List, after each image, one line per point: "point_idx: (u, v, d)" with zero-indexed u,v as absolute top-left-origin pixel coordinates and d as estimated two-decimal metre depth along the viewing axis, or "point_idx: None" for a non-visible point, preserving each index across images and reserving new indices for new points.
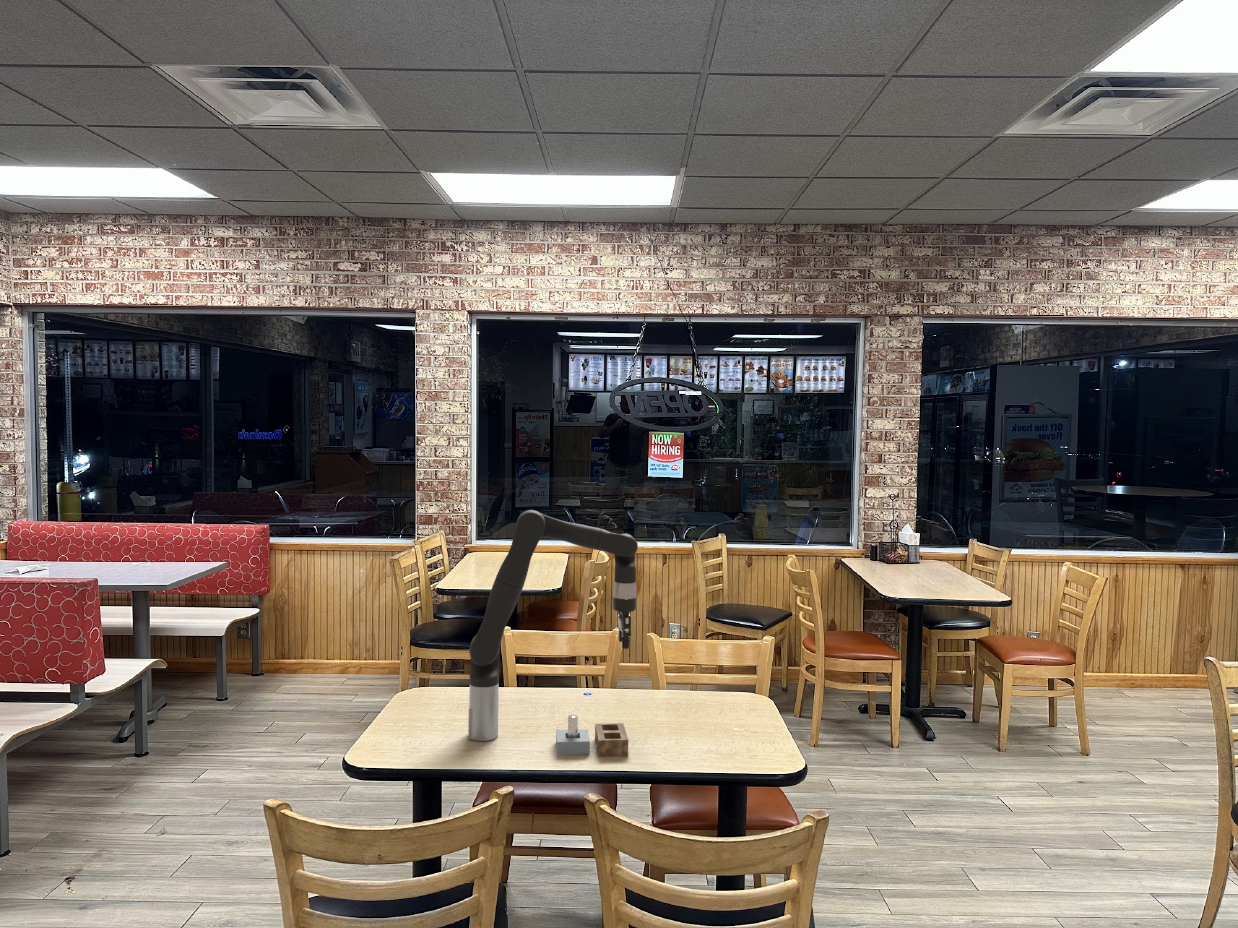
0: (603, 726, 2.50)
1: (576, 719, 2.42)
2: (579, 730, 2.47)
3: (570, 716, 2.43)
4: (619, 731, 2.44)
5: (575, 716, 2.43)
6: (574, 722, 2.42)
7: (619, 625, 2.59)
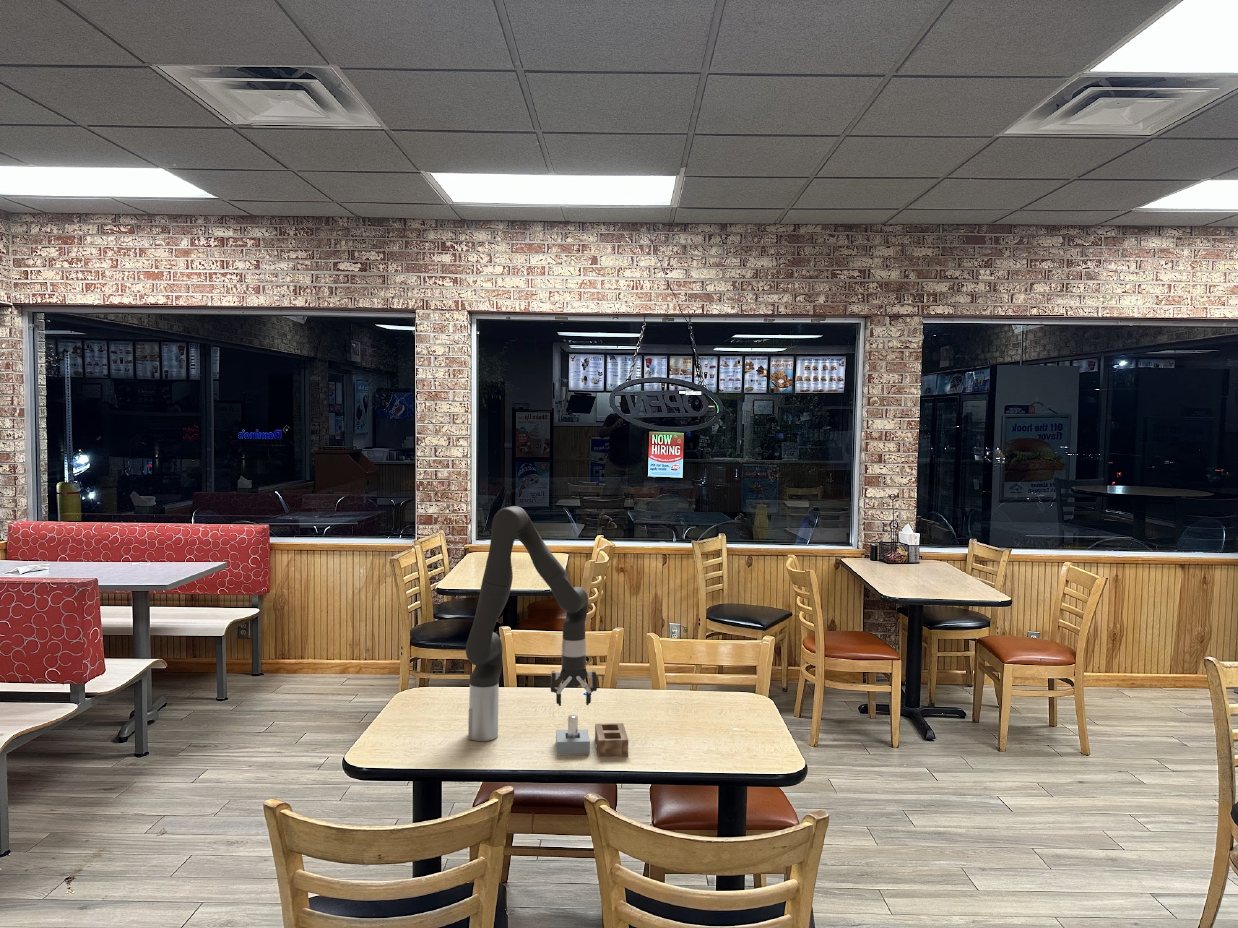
0: (603, 726, 2.50)
1: (576, 719, 2.42)
2: (579, 730, 2.47)
3: (570, 716, 2.43)
4: (619, 731, 2.44)
5: (575, 716, 2.43)
6: (574, 722, 2.42)
7: None
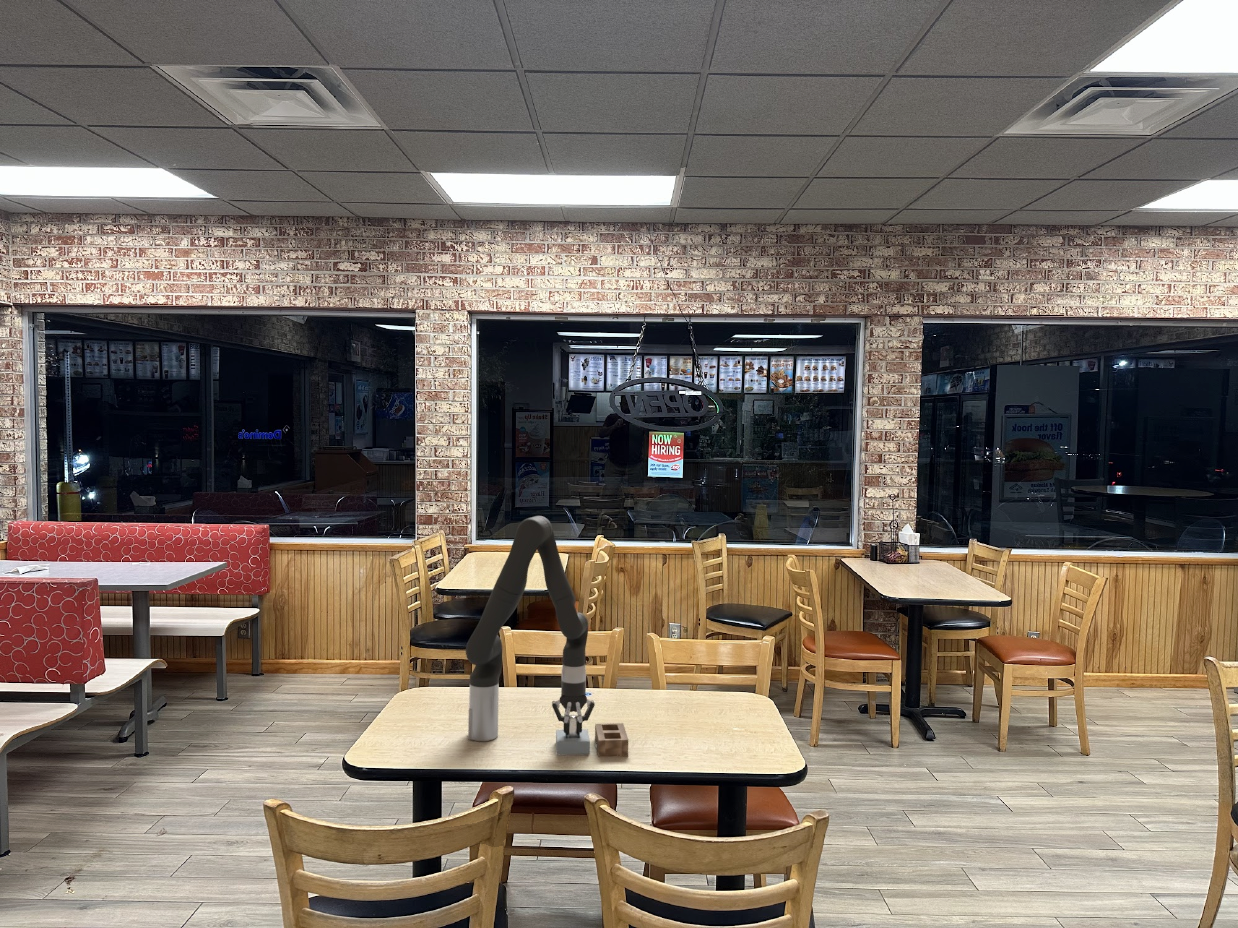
0: (603, 726, 2.50)
1: (576, 719, 2.42)
2: None
3: (570, 716, 2.43)
4: (619, 731, 2.44)
5: (575, 716, 2.43)
6: (574, 722, 2.42)
7: None
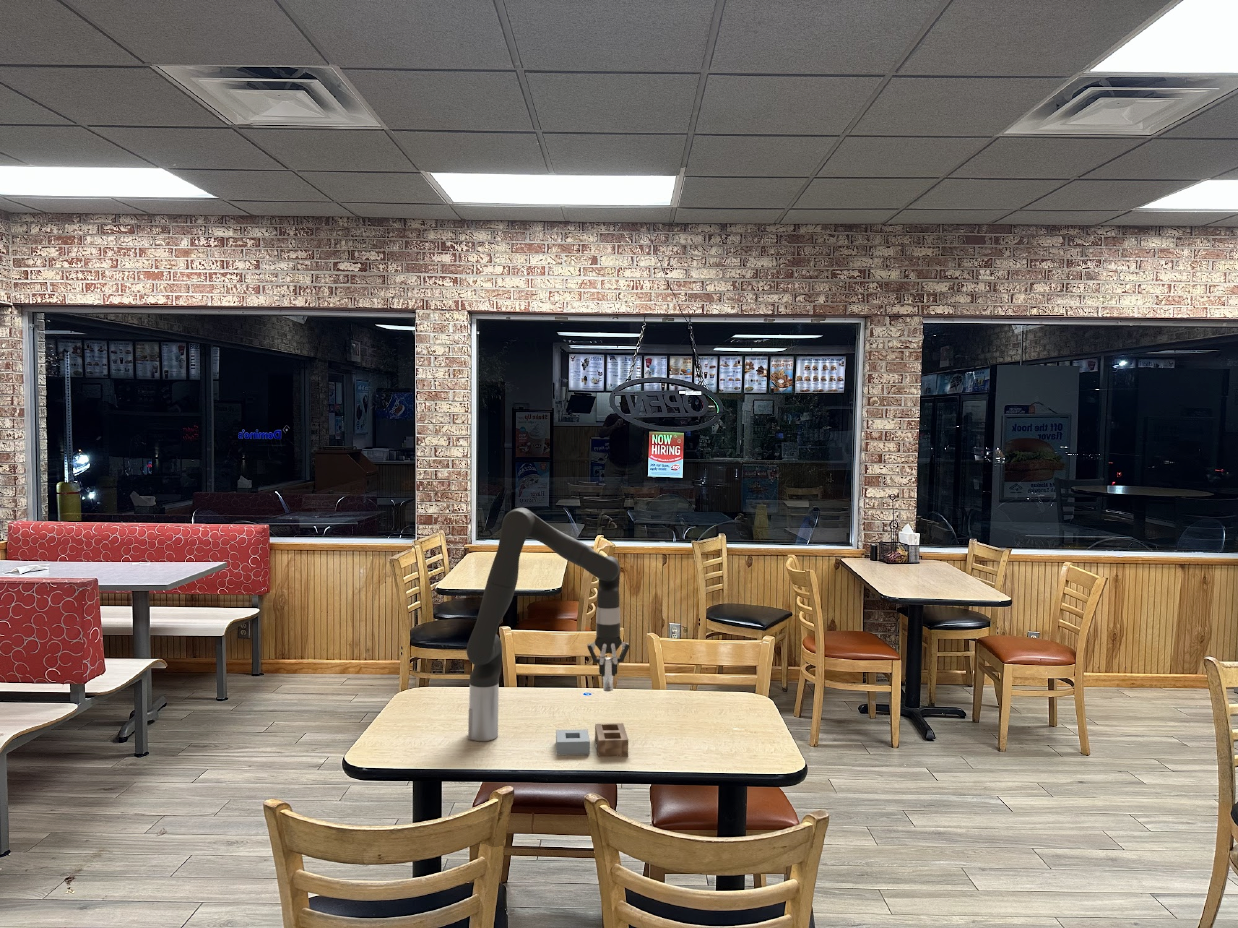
0: (603, 726, 2.50)
1: (611, 661, 2.45)
2: (579, 730, 2.47)
3: (605, 658, 2.46)
4: (619, 731, 2.44)
5: (610, 658, 2.46)
6: (610, 664, 2.45)
7: (604, 656, 2.45)
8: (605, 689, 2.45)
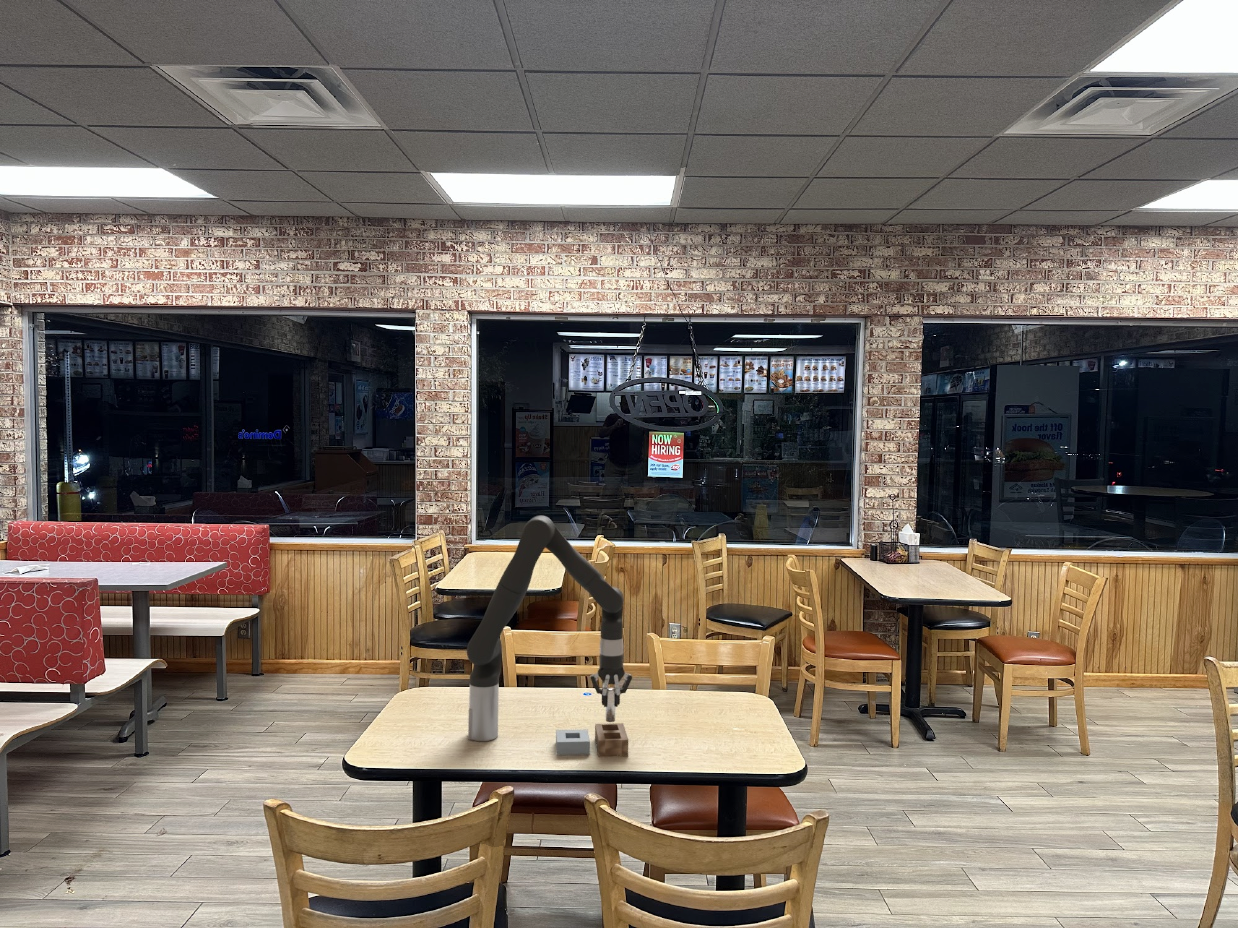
0: (603, 726, 2.50)
1: (614, 691, 2.46)
2: (579, 730, 2.47)
3: (608, 689, 2.47)
4: (619, 731, 2.44)
5: (613, 689, 2.47)
6: (612, 695, 2.46)
7: None
8: (607, 720, 2.46)
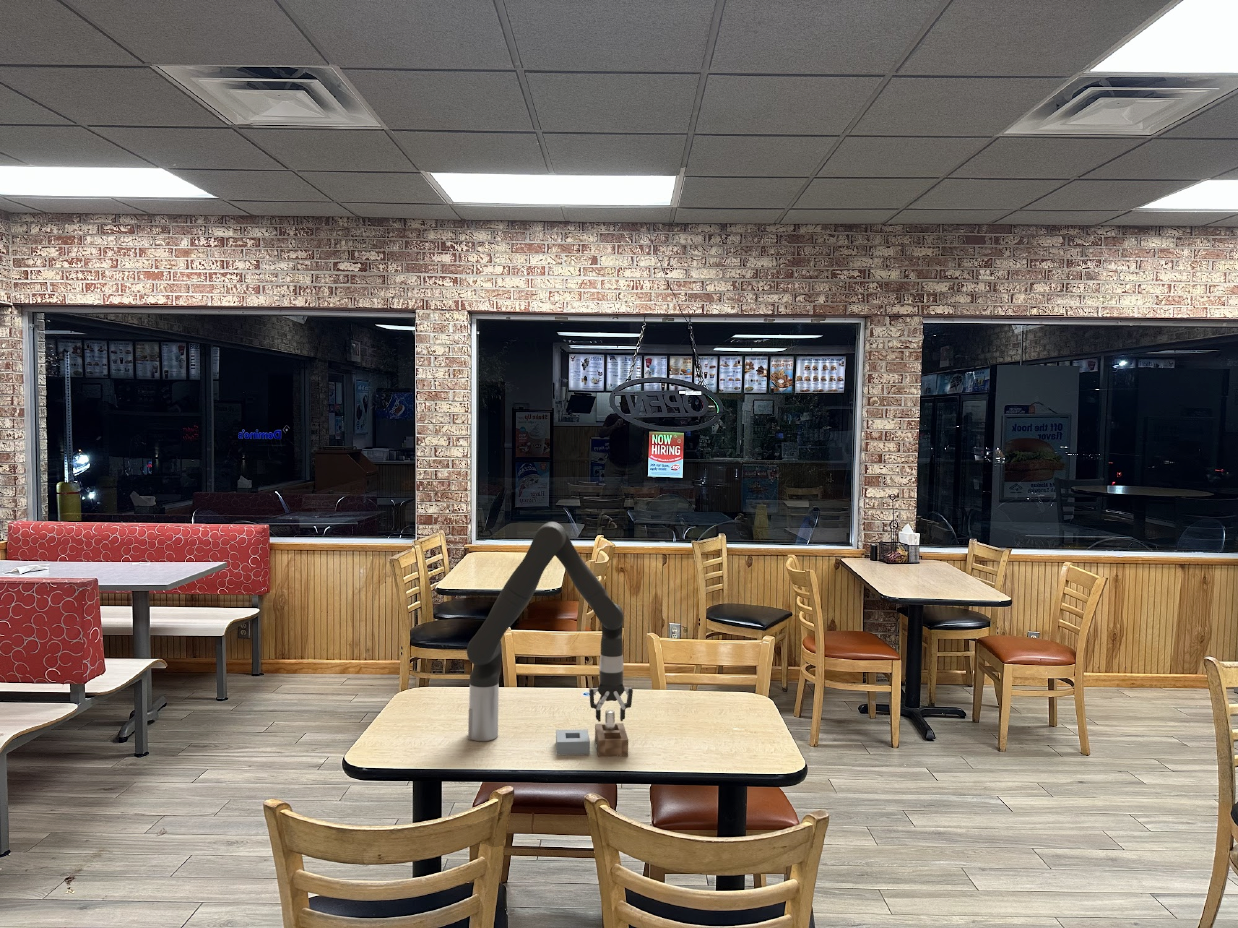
0: (603, 726, 2.50)
1: (613, 714, 2.47)
2: (579, 730, 2.47)
3: (607, 711, 2.47)
4: (619, 731, 2.44)
5: (612, 711, 2.48)
6: (611, 718, 2.46)
7: None
8: None
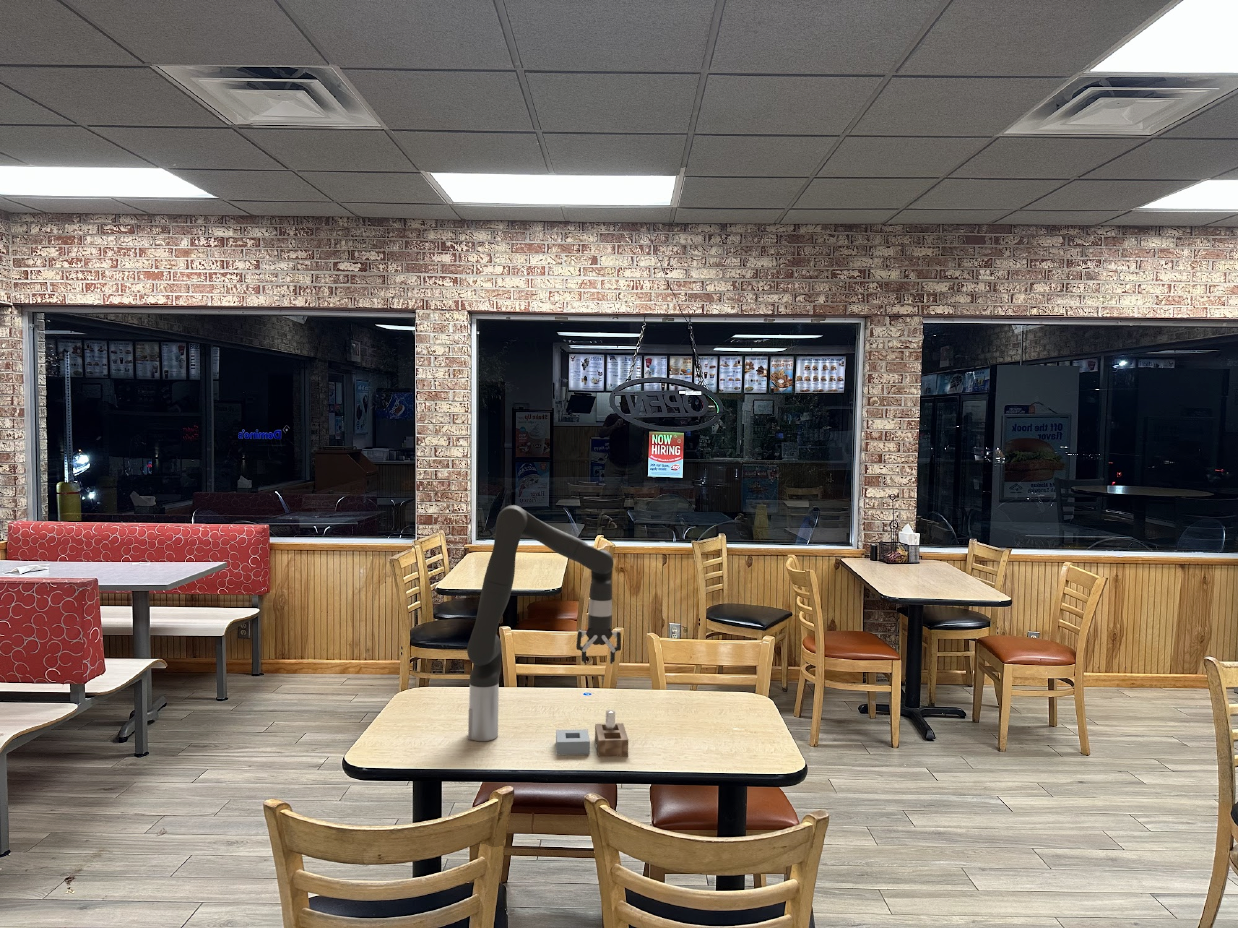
0: (603, 726, 2.50)
1: (614, 714, 2.47)
2: (579, 730, 2.47)
3: (608, 711, 2.48)
4: (619, 731, 2.44)
5: (612, 711, 2.48)
6: (612, 718, 2.46)
7: (589, 646, 2.50)
8: None
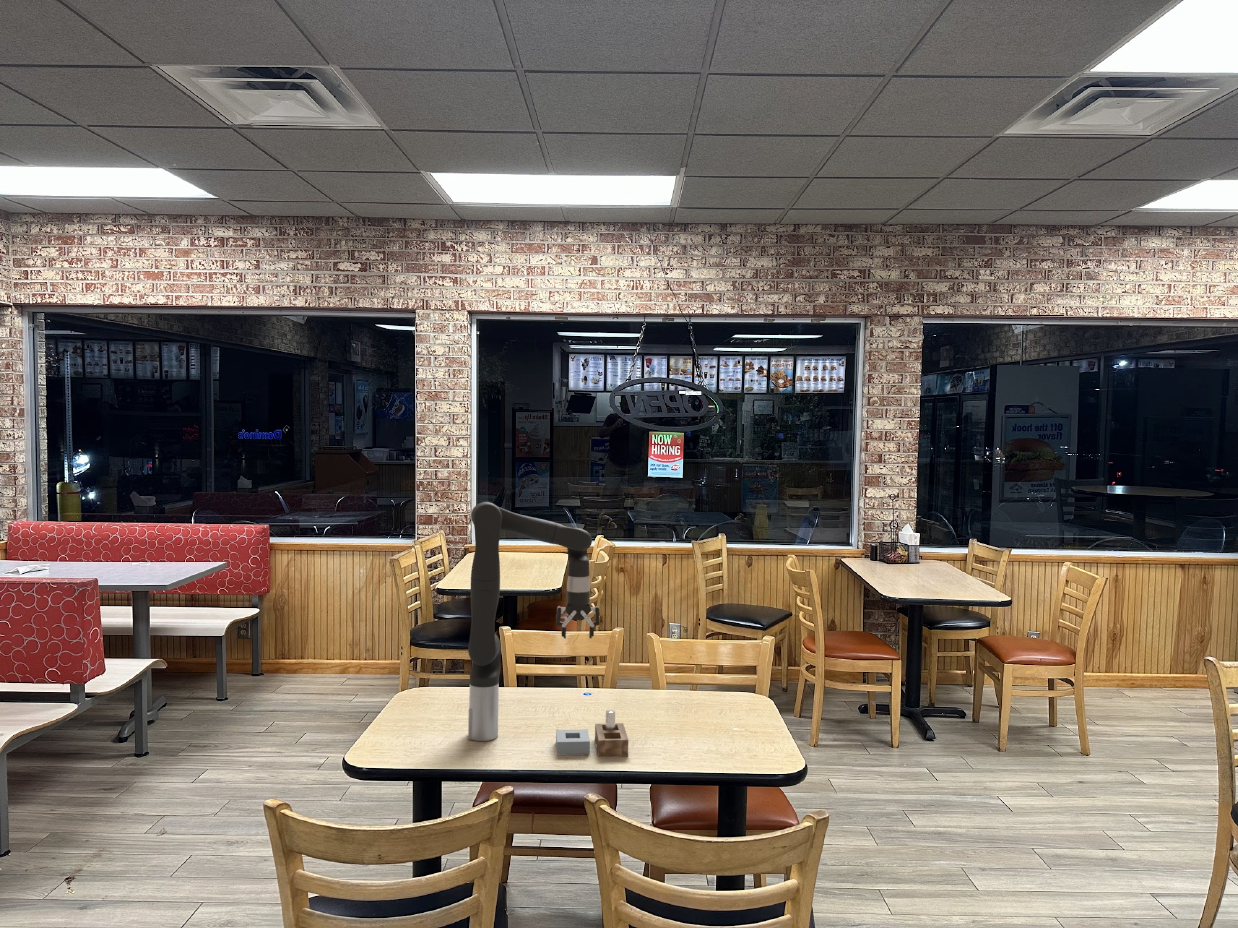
0: (603, 726, 2.50)
1: (614, 714, 2.47)
2: (579, 730, 2.47)
3: (608, 711, 2.48)
4: (619, 731, 2.44)
5: (612, 711, 2.48)
6: (612, 718, 2.46)
7: (569, 621, 2.58)
8: None
